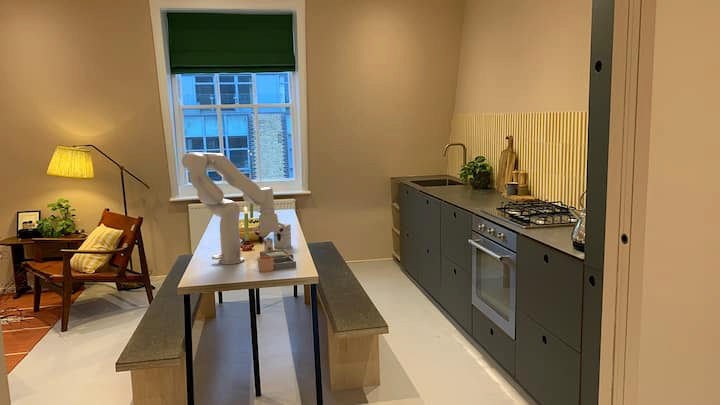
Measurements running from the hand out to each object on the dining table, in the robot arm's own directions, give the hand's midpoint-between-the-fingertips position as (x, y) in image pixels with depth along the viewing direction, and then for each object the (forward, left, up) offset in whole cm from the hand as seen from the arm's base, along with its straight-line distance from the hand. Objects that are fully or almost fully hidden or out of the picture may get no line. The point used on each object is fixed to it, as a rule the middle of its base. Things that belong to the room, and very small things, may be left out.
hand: (270, 242), depth 289 cm
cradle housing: (0, -12, -6) cm, 14 cm away
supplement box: (+10, +12, -7) cm, 17 cm away
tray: (-1, -27, -6) cm, 28 cm away
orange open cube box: (-10, -30, -6) cm, 33 cm away
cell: (-1, 0, -6) cm, 6 cm away
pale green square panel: (0, -12, -5) cm, 13 cm away
